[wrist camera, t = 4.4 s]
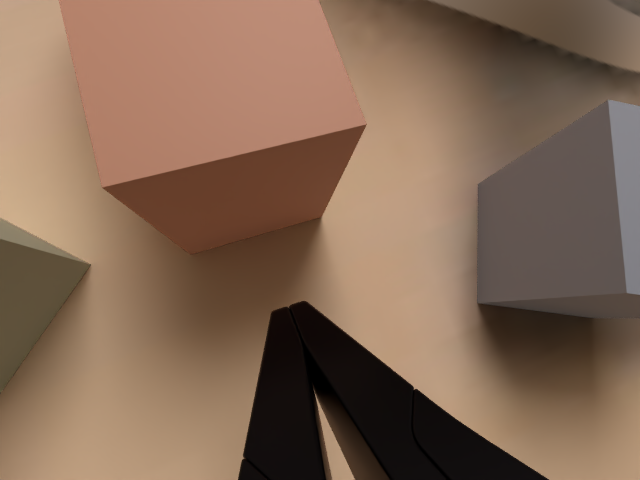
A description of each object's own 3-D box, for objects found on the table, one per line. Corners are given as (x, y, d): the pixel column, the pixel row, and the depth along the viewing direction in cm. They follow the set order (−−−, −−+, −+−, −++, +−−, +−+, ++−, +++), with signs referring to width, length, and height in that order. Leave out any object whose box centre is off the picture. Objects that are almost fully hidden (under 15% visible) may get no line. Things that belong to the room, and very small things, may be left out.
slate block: (592, 318, 17) (812, 319, 10) (476, 302, 16) (626, 293, 9) (583, 202, 18) (771, 133, 11) (477, 184, 17) (608, 99, 11)
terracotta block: (321, 217, 16) (366, 124, 8) (191, 255, 15) (101, 187, 7) (238, -24, 18) (213, -273, 11) (121, -8, 17) (-5, -274, 9)
